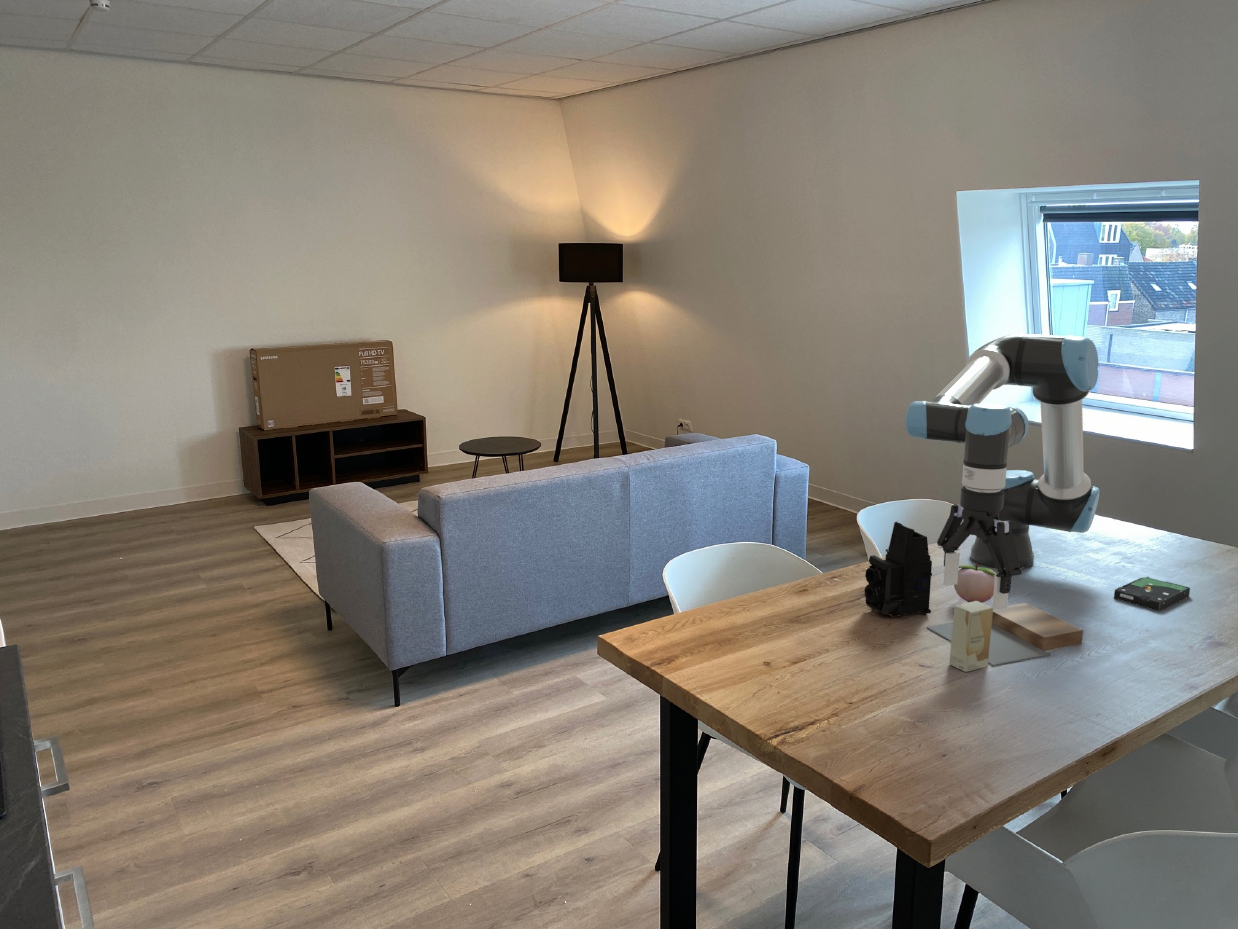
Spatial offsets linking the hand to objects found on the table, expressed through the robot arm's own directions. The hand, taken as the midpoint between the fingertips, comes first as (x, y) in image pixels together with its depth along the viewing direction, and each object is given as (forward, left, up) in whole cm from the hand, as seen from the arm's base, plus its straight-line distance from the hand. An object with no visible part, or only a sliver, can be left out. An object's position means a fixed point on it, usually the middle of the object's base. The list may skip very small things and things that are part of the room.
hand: (974, 596), depth 177 cm
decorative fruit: (-25, +22, -15) cm, 37 cm away
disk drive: (-15, +63, -15) cm, 67 cm away
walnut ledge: (-8, +23, -14) cm, 28 cm away
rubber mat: (-8, +11, -14) cm, 20 cm away
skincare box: (0, 0, -15) cm, 15 cm away
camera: (-28, +3, -15) cm, 32 cm away
